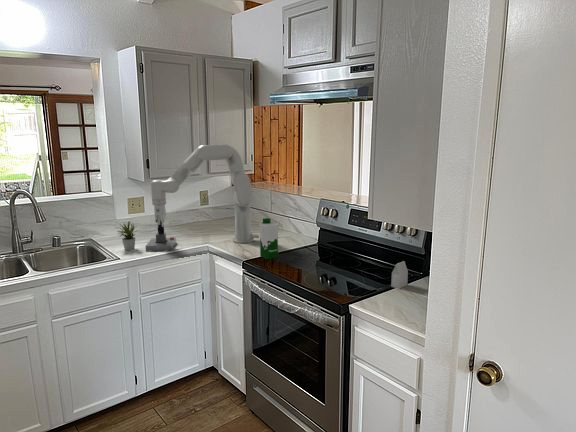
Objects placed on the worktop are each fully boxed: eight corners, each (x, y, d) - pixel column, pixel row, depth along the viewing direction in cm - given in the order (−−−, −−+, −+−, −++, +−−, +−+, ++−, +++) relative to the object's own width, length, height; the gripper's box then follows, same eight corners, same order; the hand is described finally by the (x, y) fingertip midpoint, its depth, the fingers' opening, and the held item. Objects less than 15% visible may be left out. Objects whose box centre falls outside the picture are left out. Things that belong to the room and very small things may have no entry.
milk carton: (271, 253, 231) (271, 217, 227) (281, 257, 223) (280, 219, 220) (257, 256, 226) (257, 219, 222) (267, 260, 218) (266, 221, 215)
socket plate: (176, 242, 257) (175, 236, 256) (171, 250, 239) (171, 243, 238) (152, 243, 255) (151, 237, 254) (145, 251, 238) (145, 244, 237)
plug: (166, 245, 249) (165, 233, 248) (165, 247, 245) (164, 234, 244) (157, 246, 249) (157, 233, 247) (156, 247, 245) (155, 234, 244)
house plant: (115, 246, 247) (113, 219, 244) (140, 244, 252) (139, 217, 249) (115, 253, 234) (112, 223, 231) (141, 250, 239) (139, 221, 236)
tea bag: (407, 284, 182) (408, 262, 180) (399, 288, 177) (400, 265, 175) (399, 282, 184) (400, 260, 182) (391, 286, 179) (392, 263, 178)
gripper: (163, 203, 236) (165, 236, 239) (167, 199, 250) (169, 230, 254) (149, 204, 235) (151, 236, 238) (154, 200, 249) (156, 231, 253)
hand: (161, 233), depth 246 cm, fingers closed
